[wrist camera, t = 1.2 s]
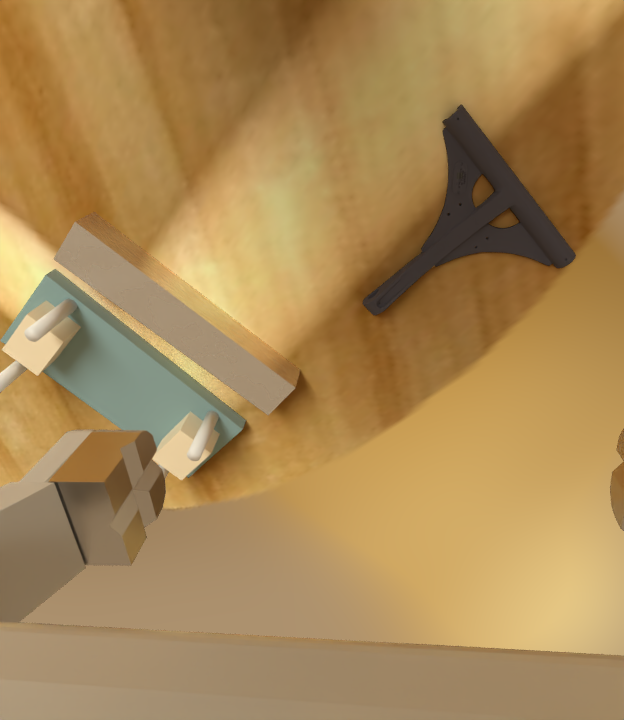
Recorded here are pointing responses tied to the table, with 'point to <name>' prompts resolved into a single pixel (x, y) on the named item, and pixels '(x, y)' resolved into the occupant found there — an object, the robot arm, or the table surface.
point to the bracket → (477, 215)
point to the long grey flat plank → (176, 312)
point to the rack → (117, 375)
